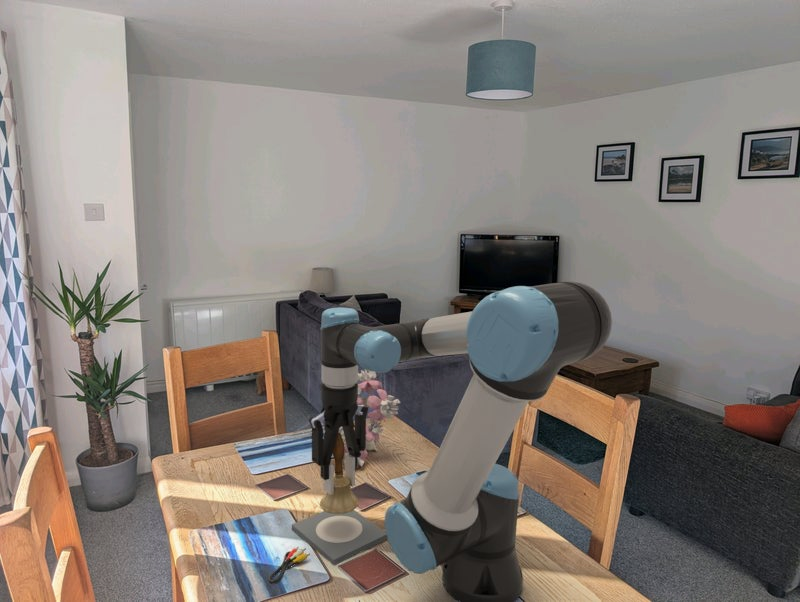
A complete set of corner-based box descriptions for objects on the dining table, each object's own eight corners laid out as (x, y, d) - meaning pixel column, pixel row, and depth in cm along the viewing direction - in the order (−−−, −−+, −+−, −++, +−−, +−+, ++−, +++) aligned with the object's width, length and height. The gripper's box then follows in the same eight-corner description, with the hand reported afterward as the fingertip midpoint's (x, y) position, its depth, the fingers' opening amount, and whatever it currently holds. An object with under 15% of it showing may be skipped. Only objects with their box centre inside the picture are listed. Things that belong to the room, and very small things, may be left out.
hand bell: (337, 519, 116) (337, 445, 113) (311, 503, 121) (311, 433, 118) (366, 503, 122) (367, 433, 119) (341, 489, 127) (340, 422, 124)
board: (387, 538, 121) (387, 533, 121) (333, 565, 112) (333, 559, 112) (343, 507, 133) (343, 502, 133) (291, 529, 124) (291, 523, 124)
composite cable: (275, 587, 106) (275, 575, 106) (257, 577, 109) (257, 565, 108) (311, 560, 114) (311, 549, 114) (294, 551, 117) (294, 540, 116)
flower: (293, 447, 161) (311, 382, 148) (350, 417, 177) (371, 357, 164) (339, 497, 151) (363, 432, 139) (394, 461, 168) (420, 400, 155)
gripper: (362, 370, 125) (361, 468, 129) (292, 387, 113) (293, 494, 118) (384, 379, 120) (382, 481, 124) (312, 397, 108) (313, 509, 112)
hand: (339, 487), depth 121 cm, fingers closed on hand bell, 5 cm apart
